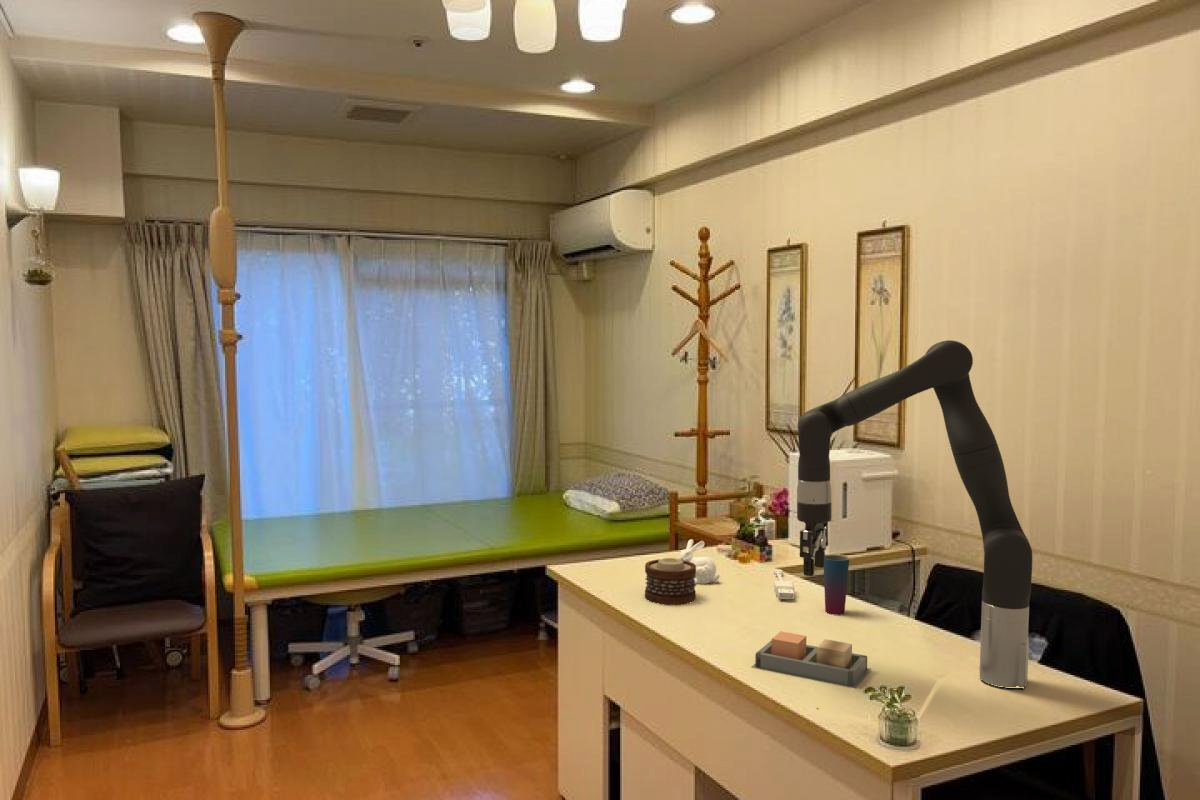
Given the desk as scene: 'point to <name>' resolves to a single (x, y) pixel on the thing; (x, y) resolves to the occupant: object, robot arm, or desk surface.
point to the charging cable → (783, 586)
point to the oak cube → (835, 654)
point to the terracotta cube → (789, 645)
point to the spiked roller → (670, 581)
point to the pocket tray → (812, 667)
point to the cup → (835, 583)
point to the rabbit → (700, 564)
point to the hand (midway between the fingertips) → (814, 571)
